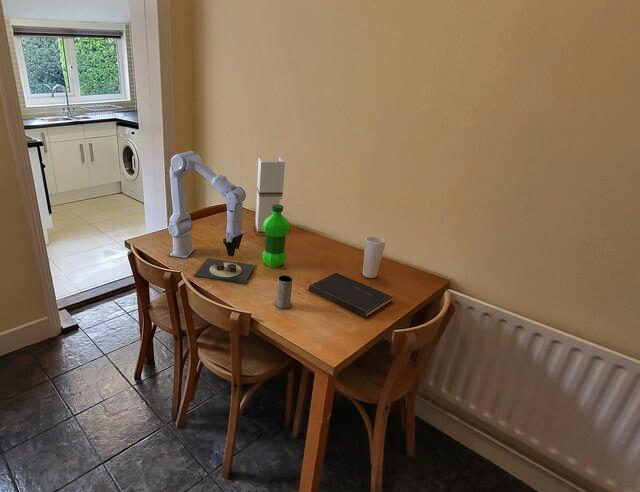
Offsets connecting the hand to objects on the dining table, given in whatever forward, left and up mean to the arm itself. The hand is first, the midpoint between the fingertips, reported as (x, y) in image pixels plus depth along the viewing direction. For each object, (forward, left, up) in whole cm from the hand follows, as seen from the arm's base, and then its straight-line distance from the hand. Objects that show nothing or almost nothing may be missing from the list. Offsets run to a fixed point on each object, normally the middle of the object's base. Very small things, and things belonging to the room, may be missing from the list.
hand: (233, 252), depth 161 cm
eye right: (+3, 0, -7) cm, 7 cm away
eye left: (+3, -5, -7) cm, 9 cm away
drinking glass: (-11, +52, -8) cm, 53 cm away
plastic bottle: (-9, +15, -8) cm, 19 cm away
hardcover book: (+8, +45, -8) cm, 46 cm away
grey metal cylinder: (+21, +24, -8) cm, 32 cm away
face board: (+3, -2, -7) cm, 8 cm away
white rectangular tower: (-45, +5, -8) cm, 46 cm away
